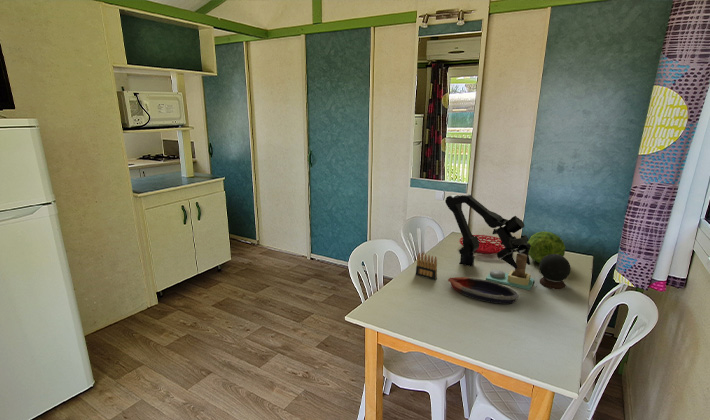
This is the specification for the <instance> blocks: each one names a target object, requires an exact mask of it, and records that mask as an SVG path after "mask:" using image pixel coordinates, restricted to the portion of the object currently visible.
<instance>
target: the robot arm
mask: <svg viewBox="0 0 710 420" xmlns="http://www.w3.org/2000/svg"><path fill="white" fill-rule="evenodd" d="M463 204H466V205H467V206H469V207H470V208H471V209H472V210H473V211H474V212H476V213H477V214H478V215H479V216H481V217H482V218H483V220H484V223H485V224H486V225H487V226H488V227H489V228H491V229H493V231H492V235H497V236H498V238H500V239H499V240H501V241H502V242H501V244H500V245H502V246H504V247H503V248H504V249H502V250H501V251H499V252H498V253H496V256H497V259H498V260H499V259H500V260H502V261H504V262H505V263H507V264H508V265H510V267H513V268H514V270H515V269H517V268H518V267H517V265H516V260H515V258H514V256H513V255H514V253H517V254H519V253H521V254H525V255H527V261H526V265H527V266H530V265H531V261H530V256H529V254H528V253H529V250H530V248H531V245H530V244H529V243H527V242H528V240H529V238H528V236H527V235H526V234H524V235H520V237H518V238H517V236H513V234H515V233H517V232H519V231H520V230H522V229H523V228H525V223H524V221H523V220H522V219H521V218H519V217H518V216H516V215H514V216H513V217H511V218H510V219H506V218H504V217H502V216H501V215H500V214H498V213H496V212H494V211H491V210H489V209H488V208H487V207H486V206H485V205H483V204H482V203H481V202H479V201H478V200H477V199H476V198H474V197H473V196H472V195H471V194H469V193H468V194H466V195H465V194H462V195H461V194H460V195H459V194H456V193H455V194H452V195H448V196H447V197H446V198H445V205H446V207H447V208H448V210H450V211H451V212H452V213H453V216H454V219H455V221H456V224H457V226H458V228H459V231H460V232H461V237H463V239H462V240H463V242H462V243H463V245H462V247H461V248H460V249H459V250H458V252H459V255H460V259H459V263H458V264H459V265H463V266H466V267H472V266H473V265H474V264H475V258H476V257H475V253H476V252H477V251H476V250H477V249H478V248H479V243H480V241H479V240H478V237H477V236H473V235H474V234H473V233H472V231H471V230H470V227H469V224H468V222H467V219H466V217H465V215H464V211H463V208H462V207H463Z"/></svg>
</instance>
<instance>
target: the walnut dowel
mask: <svg viewBox="0 0 710 420" xmlns="http://www.w3.org/2000/svg"><path fill="white" fill-rule="evenodd" d="M526 261H527V255H525V254H521V253H516V258H515V263H516V265H517V267H518V268H517V269H515V268H514V270H515V272H514V276H515V277H520V278H524V277H525V272H526V267H527V263H526Z"/></svg>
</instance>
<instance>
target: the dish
mask: <svg viewBox="0 0 710 420" xmlns="http://www.w3.org/2000/svg"><path fill="white" fill-rule="evenodd" d="M447 281H448V283H450V287H452V289H453V290H455V291H456V292H458V293H459V294H461V295H464V296H467V297H469V298H471V299H476V300H479V301H482V302H488V303H494V304H512V303H515V301H517V299H519V294H518V293H517V292H516V290H514V289H512V288H510V287H508V286H507V285H504V284H502V283H497V282H493V281H489V280H486V279H481V278H476V277H469V276H467V277H466V276H464V277H463V276H459V277H458V276H457V277H449V278H448V280H447Z"/></svg>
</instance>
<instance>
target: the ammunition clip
mask: <svg viewBox="0 0 710 420" xmlns="http://www.w3.org/2000/svg"><path fill="white" fill-rule="evenodd" d="M430 256H431V257H430ZM437 258H438V257H437V256H434V255H430V254H428V256H427V254H426V253H425V254H424V253H420V252H418V254H417V260H416V267H415V276H419V277H422V278H426V279H429V280H433V281H436V280H437V279H438V276H437V275H438V269H437V268H438V267H437V266H438V263H437V262H438V259H437Z"/></svg>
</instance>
